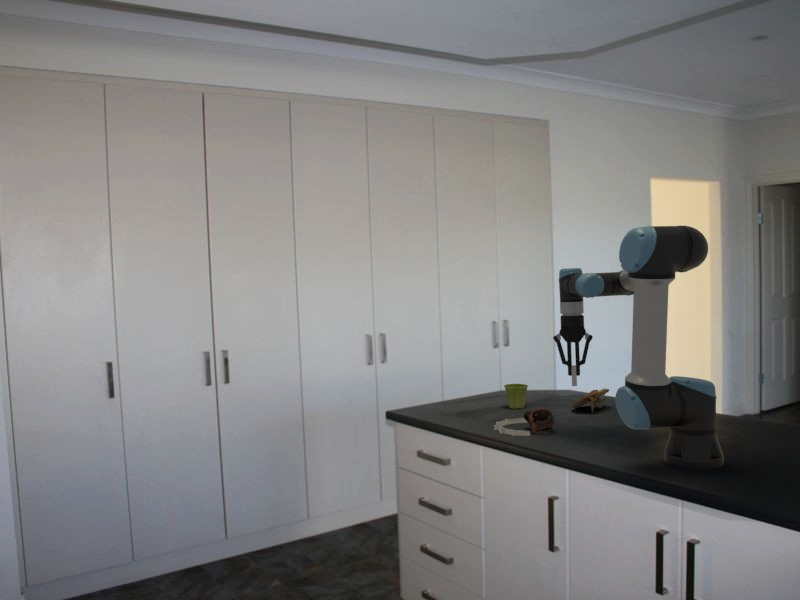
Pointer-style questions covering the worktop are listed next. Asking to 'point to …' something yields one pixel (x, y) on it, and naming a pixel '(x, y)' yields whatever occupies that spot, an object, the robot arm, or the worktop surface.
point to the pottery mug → (539, 419)
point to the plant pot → (516, 395)
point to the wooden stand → (591, 399)
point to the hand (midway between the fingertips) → (574, 385)
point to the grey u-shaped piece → (510, 431)
